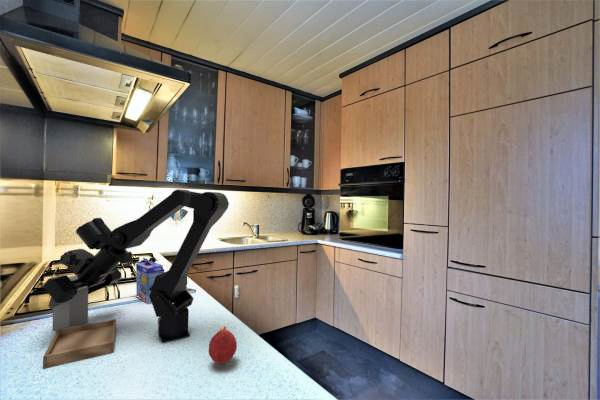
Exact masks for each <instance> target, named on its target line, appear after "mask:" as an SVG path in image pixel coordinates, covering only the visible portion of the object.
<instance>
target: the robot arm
mask: <svg viewBox="0 0 600 400" xmlns="http://www.w3.org/2000/svg"><path fill="white" fill-rule="evenodd" d="M229 205H230V203H229V200H228V197H227V196H226V195H225V194H224V193H222V192H216V191H204V192H196V191H190V190H188V189H181V188H179V189H175V190H173V191H172V192H171V193H170V194H169V195H168V196H167V197H166V198H164V199H162V200H161V201H160V202H159V203H157V204H156V205H154V206H153V207H152V208H151V209H149V210H148V211H146V212H145V213H143V214H142V215H141V216H140V217H138V218H137V219H135V220H132V221H129V222H126V223H124V224H122V225H120V226H117V227H116V228H114V229H113V230H111V229H110V228H109V227H108V226H107V224H106V223H105V221H104V220H103V219H102V217H94V218H92V220H90V221H87V222H85V223H84V224H82V225H80V226H78V227H77V228H76V230H75V233H76V235H77V236H78V237H79V238H80V239H81V240H82V242H83V244H84V245H86V247H87V248H88V249H89V250H98V251H97V252H96V254H93V253H91V252H90V251H88V250H86V249H84V248H77V249H70V250H68V251H65V252H64V253H63V254H61V256H60V258H59V264H62V265H63V266H66V267H71V268H73V270H72V272H73V274H74V276H77V278H78V279H77V280H74V281H71V280H70V279H69V277H70V276H68V275H66V274H61V275H57V276H54V277H50V278H48V279H47V280H46V281H45V282H44V283H43V285H42V288H44V290H45V291H46V292H47V293H48V295H49V296H50V299H49V303H48V308H49V309H51V310H53V308H54V307H56V306H58V305H60V304H63V303H65V302H67V301H69V300H71V299H72V298H73V297H74V296H75V295H76V294H77V289H80V288H83V287H86V286H87V287H88V295H89V294H92V293H96V292H97V291H99V290H101V289H104V288H106V287H108V286H111V285H113V284H115V283H117V282H119V280H121V279H122V272H121V271H120V270H119V268H117V265H119V263H120V264H121V265H124V264H127V263H130V262H133V256H132V251H128V250H127V249H132V248H135V247H139V246H141V245H143V243H145V242H146V240H147V239H148V238H149V237H151V234H152V231H154V230H156V228H157V227H158V226H160V225H162V223H164V222H165V221H166V220H168V219H170V217H172V216H174V215H175V214H176V213H178V212H179V211H180V210H181V209H183V208H184V207H187V208H188V209H193V211H192V213H193V215H192V216H193V218H192V223H191V225H190V227H189V230H188V231H187V234H186V236H185V237H184V239H183V241H182V243H181V245H180V248H179V249H178V251H177V253H176V255H175V257H174V259H173V261H172V263H171V266H170V267H169V269H168V270H167V271H163V273H162V274H159V275H157V276H156V278H155V280H154V283H153V285H152V287H151V288H150V289H149V290H151V292H150V295H149V298H150V300H151V303H150V304H151V305H152V308H153V311H154V314H155V316H156V318H157V334H158V338H159V339H160V341H161V343H166V342H171V341H176V340H179V339H184V338H188V337H190V335H191V333H190V330H189V317H190V316H189V315H190V314H189V311H190V310H189V308H188V307H190V306H192V304H193V301H194V297H193V295H191V293H190V292H189V291H188V290H187V285H188V274H189V272H190V270H191V268H192V266H193V264H194V263H195V260H196V258H197V256H198V254H199V252H200V250H201V248H202V246H203V244H204V242H205V240H206V239H207V237H208V235H209V232H210V231H211V228H212V227H214V225H216V223H217V222H218V221H219V220H221V218H222V217H223V215H224V214H225V213H226V212H227V210H228V208H229Z"/></svg>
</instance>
